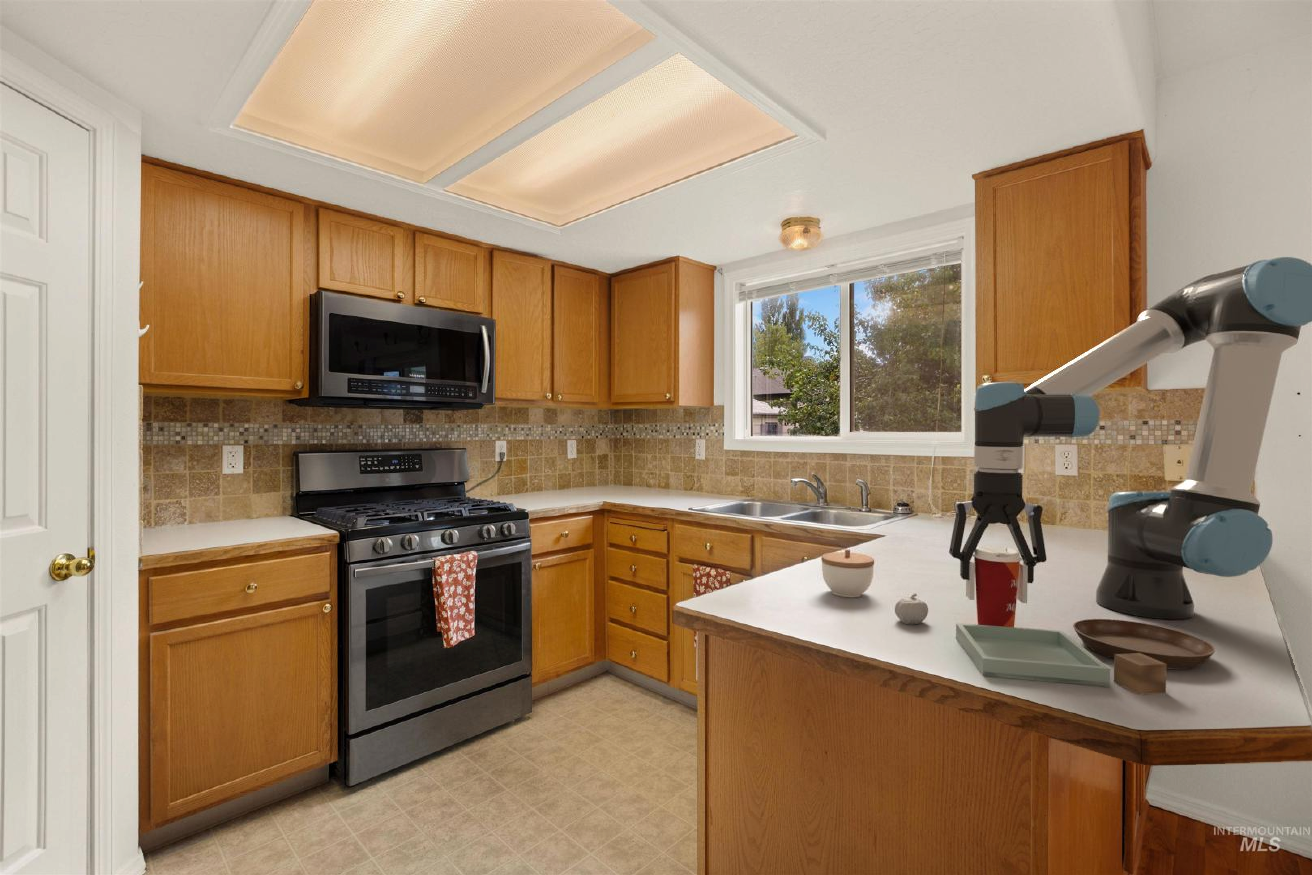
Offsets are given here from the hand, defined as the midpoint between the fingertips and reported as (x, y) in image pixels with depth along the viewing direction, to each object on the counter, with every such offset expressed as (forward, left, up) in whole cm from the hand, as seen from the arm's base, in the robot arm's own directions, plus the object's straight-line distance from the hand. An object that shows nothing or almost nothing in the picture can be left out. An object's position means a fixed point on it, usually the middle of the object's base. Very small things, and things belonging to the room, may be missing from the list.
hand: (995, 599), depth 109 cm
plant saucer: (-19, +7, -6) cm, 21 cm away
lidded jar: (+24, -17, -5) cm, 30 cm away
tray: (0, +15, -5) cm, 16 cm away
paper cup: (0, 0, -5) cm, 5 cm away
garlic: (+14, 0, -5) cm, 15 cm away
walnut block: (-12, +22, -5) cm, 26 cm away
